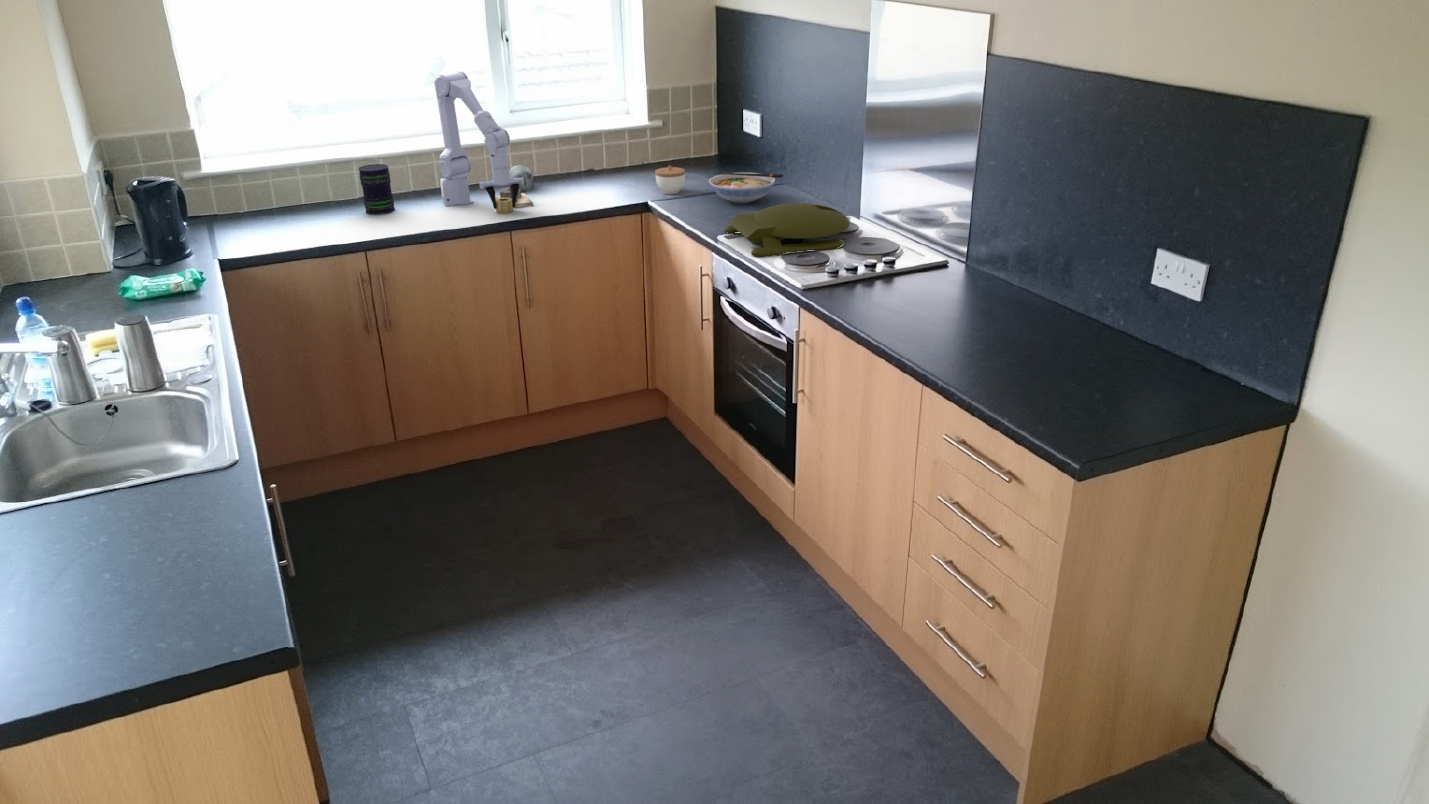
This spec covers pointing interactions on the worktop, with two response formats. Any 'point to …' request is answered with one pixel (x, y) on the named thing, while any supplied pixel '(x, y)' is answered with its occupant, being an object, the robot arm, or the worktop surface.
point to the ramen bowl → (742, 186)
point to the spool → (522, 176)
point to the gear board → (521, 201)
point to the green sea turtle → (790, 227)
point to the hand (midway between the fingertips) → (504, 207)
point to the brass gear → (504, 205)
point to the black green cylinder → (376, 189)
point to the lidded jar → (670, 179)
